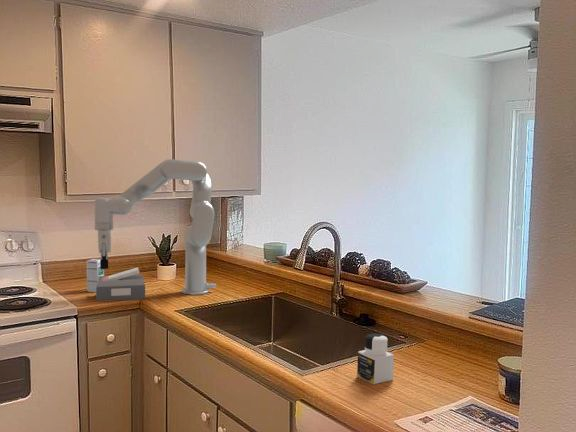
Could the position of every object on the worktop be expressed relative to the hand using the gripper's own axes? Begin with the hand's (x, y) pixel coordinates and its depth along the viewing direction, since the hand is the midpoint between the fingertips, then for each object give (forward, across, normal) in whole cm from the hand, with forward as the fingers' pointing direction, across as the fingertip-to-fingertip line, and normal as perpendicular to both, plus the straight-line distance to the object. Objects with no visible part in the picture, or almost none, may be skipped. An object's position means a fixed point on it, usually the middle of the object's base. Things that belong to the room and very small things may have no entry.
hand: (104, 268), depth 236 cm
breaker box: (+13, 0, -7) cm, 15 cm away
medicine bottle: (+13, -115, -73) cm, 137 cm away
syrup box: (+13, +15, +4) cm, 20 cm away
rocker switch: (+4, 0, -7) cm, 8 cm away
